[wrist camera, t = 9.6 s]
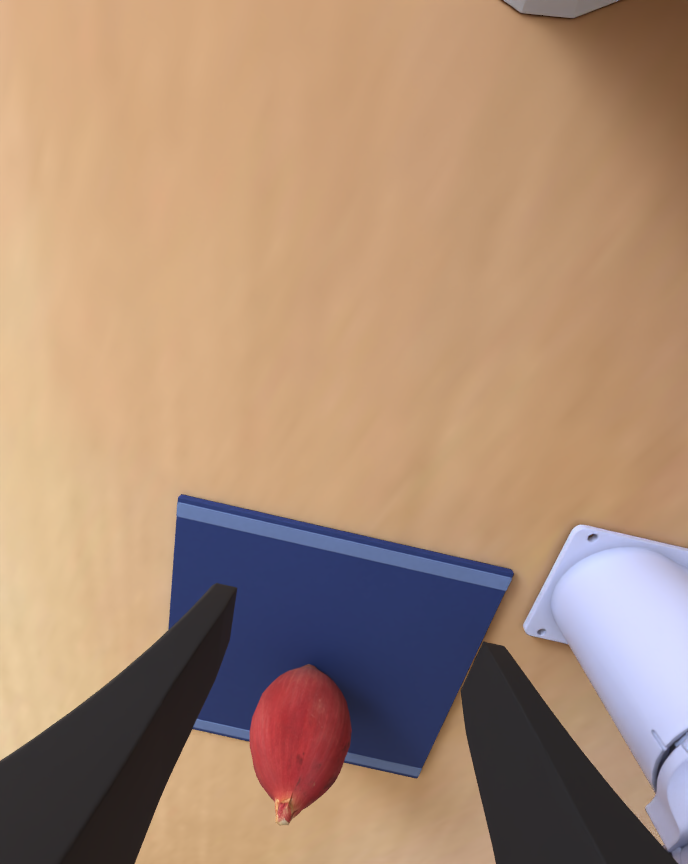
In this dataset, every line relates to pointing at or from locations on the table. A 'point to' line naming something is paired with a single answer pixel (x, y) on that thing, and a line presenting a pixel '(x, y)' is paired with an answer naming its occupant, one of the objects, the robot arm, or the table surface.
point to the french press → (558, 6)
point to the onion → (299, 739)
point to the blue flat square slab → (336, 623)
